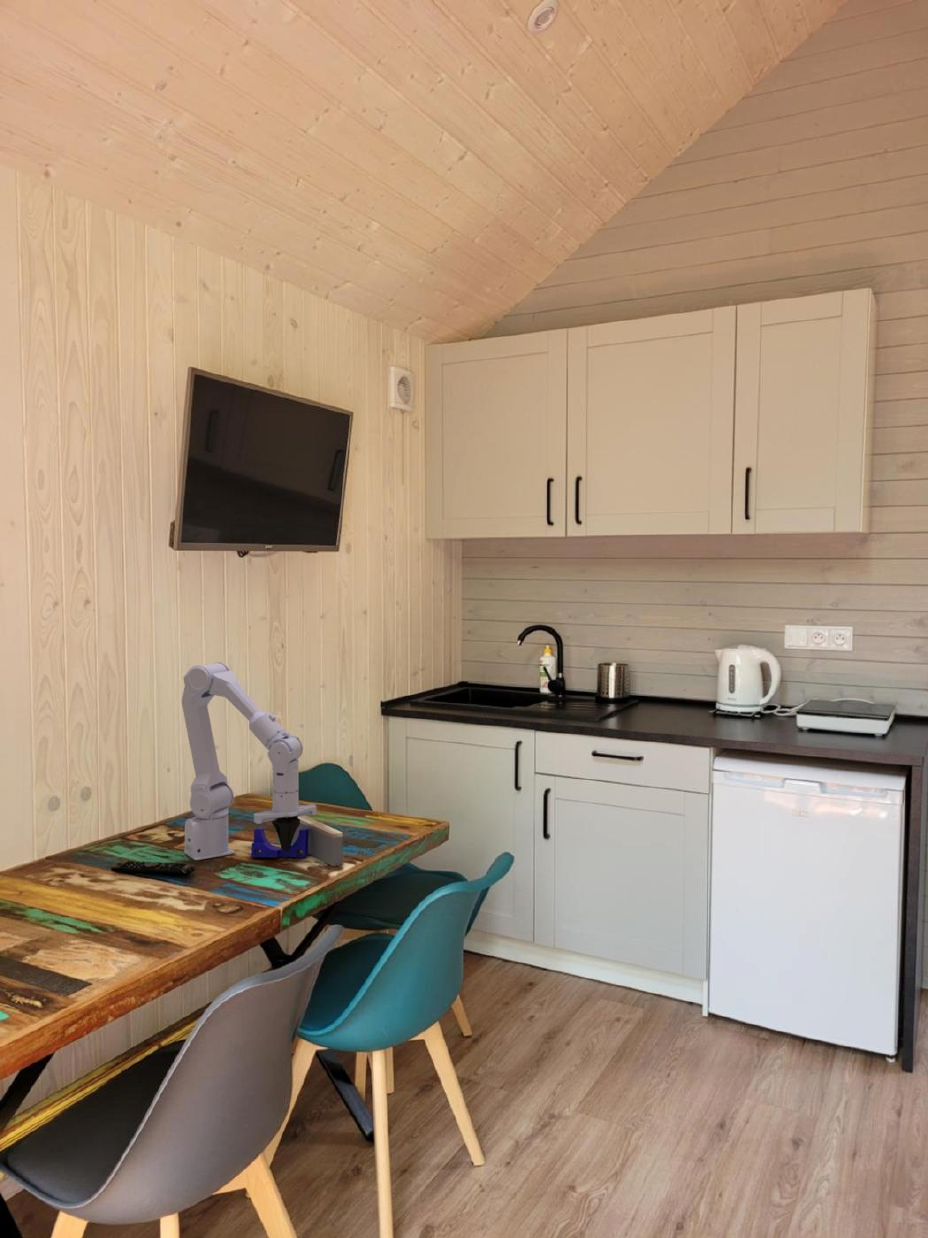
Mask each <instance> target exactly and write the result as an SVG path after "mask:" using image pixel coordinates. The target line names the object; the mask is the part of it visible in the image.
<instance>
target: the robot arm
mask: <svg viewBox="0 0 928 1238" xmlns="http://www.w3.org/2000/svg"><path fill="white" fill-rule="evenodd" d="M230 669H231V668H230V667H229V666H228V665H227V664H226V663H224V662H221V661H216V662H213V663H208V664H198V665H193V666H192V667H190V669H188V671H187V672H186V674H185V675H184V676H183V684H184V688H183V692H182V697H181V707H182V711H183V716H184V722H185V727H186V732H187V738H188V743H189V748H190V753H191V754H190V755H191V758H192V759H191V760H192V764H193V770H194V774H195V777H194V779H193V781H192V783H191V785H190V792H191V795H190V799H189V807H190V810H191V812H192V813H193V815H194V816H193V817H190V818H187V819H186V820H185V823H184V850H183V853H184V854H185V855H187V856H189V858H191V859H192V860H194V861H200V860H201V861H202V860H207V859H211V858H218V857H223V856H229V855H234V854H236V852H235V850H233V849H232V848H230V847H229V811H230V809H229V807H231V806H232V805H233V802H234V799H235V795H234V794H235V793H234V790H233V788H232V787H231V786H230V784H229V781H228V777H227V776H226V775H225V774H224V773H223V772H222V771H220V766H219V760H218V755H217V754H218V753H217V750H216V744H215V740H214V735H213V734H214V733H213V729H212V724H211V719H210V714H209V707H208V704H209V703H210V702H211V700H212V699H213V698H214V697H216V696H218V697H223V698H225V699H227V700H228V701H229V702H230V704H232V706H234V707H235V709H237V711H239V712H240V714H242V715H243V716H244V717H245V718H246V720H247V721H248V722H249V723H248V728H249V729H248V730H250V732H251V733H252V735H254V737H256V738H257V740H259V742H260V743H261V744H262V745H263V746H264V748H266V750H268V751H267V757H268V759H269V761H270V762H271V766H272V809H268V810H265V811H260V812H255V813H253V823H255V824H258V825H259V824H262V823H265V822H267V823H268V822H271V824H272V825H273V827H274V829H275V831H276V834H277V836H278V840H279V844H280V848H281V849H282V850H283V851H290V848H291V846H292V845H293V837H294V834H295V832H296V830H297V828H298V826H299V824H300V819H298V817H299V816H311V815H312V816H316V815H317V805H314V804H309V805H307V804H306V805H299V800H300V799H299V797H300V796H299V789H300V788H299V783H300V782H299V780H300V779H299V759H300V758H301V757H302V754H303V750H304V747H303V744H302V741H301V740H300V738H299V737H298V736H296V735H293V734H290V732H289V731H288V730H285V729H284V728H283V726H282V725H281V724H280V723H279V722H278V720H276V719H277V716H276V715H275V714H274V713H272V714H271V713H270V712H269V711H262V710H261V709H260V708H259V706H258V705H257V704H256V703H255V702H254V699H252V698H251V697H250V695H249V694H248V693H247V691H246V690H245V688H244V687H243V686H242V685H241V684H240V683H239V681H238V679H237V677H236V673H235V672H234V671H232V670H230Z"/></svg>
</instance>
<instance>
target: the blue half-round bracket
mask: <svg viewBox="0 0 928 1238" xmlns="http://www.w3.org/2000/svg"><path fill="white" fill-rule="evenodd" d="M308 835H309V829H301V830H299V835H298V838H297V840H296V841H295V843H294V844H293V843H292V844H291V848H290V851H283V850H282V849H281V847H277V846H275V845H273V844H272V843H270V841H269V840H268V838H267V836H266V832H265V827H256V828H254V829H253V842H251V847H250V848H251V849H250V850H251V851H250V852H251V853H250V855H251V856H250V857H251V858H279V857H280V858H286V857H287V858H306V857H308V855H309V854H308ZM300 849H301V850H300ZM300 851H302V853H301V852H300Z"/></svg>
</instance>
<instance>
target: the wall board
mask: <svg viewBox="0 0 928 1238" xmlns="http://www.w3.org/2000/svg"><path fill="white" fill-rule="evenodd" d="M298 819H300V824H299V826H298V828H297V830H296V832H295V834H294V837H293V840H292V845H293V844H294V843H295V841H296V840H297V838H298V835H299V830H301V829H309V835H308V855H310V856H311V857H314V858H315V857H316V859H317V858H318V860H319V859H320V861H321V862H324V864H326V865H327V864H328V865H329V864H330V865H329V866H331V867H336V865H338V866H341V865H340V864H343V862H344V861H343V857H344V856H343V854H344V853H343V851H344V850H343V846H344V843H343V839H344V837H343V836H344V833H343V832H342V831H340V830H337V829H336V828H333V827H331V826H328V825H326V824H324V823H323V822H320V821H318V820H315V819H313V818H312V817H310V816H308V815H305V816H299V817H298Z"/></svg>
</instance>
